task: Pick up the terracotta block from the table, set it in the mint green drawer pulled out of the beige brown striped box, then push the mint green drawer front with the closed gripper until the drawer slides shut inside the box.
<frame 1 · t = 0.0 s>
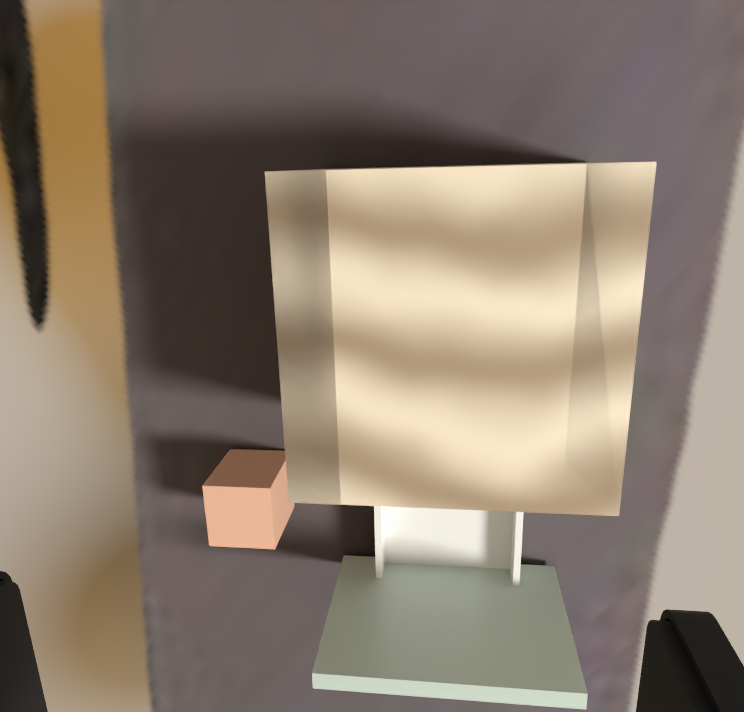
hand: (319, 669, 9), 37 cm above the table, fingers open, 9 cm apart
beige brown striped box: (450, 297, 44), on the table
block: (262, 477, 50), on the table
mint green drawer: (447, 522, 42), point 7 cm above the table, slide at 12.5 cm
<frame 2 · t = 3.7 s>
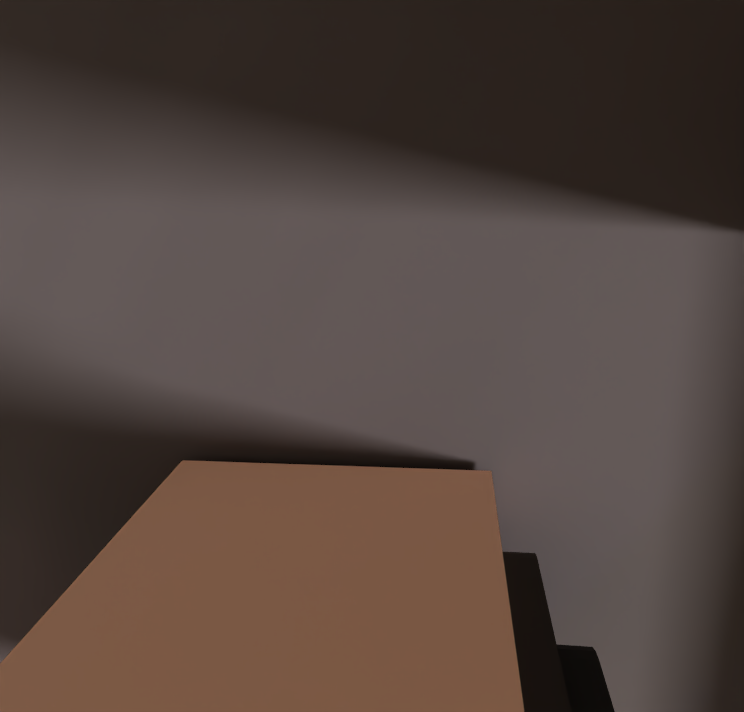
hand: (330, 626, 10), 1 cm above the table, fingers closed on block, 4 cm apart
block: (338, 596, 11), on the table, touching gripper
when the fingers open (4 cm above the table, at t = 9.5 s): block drops 2 cm, resting on mint green drawer.
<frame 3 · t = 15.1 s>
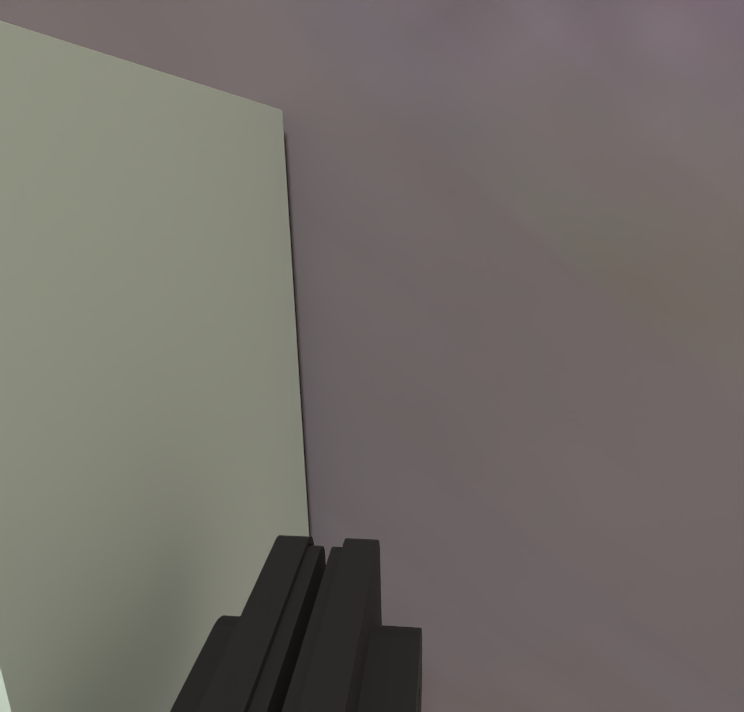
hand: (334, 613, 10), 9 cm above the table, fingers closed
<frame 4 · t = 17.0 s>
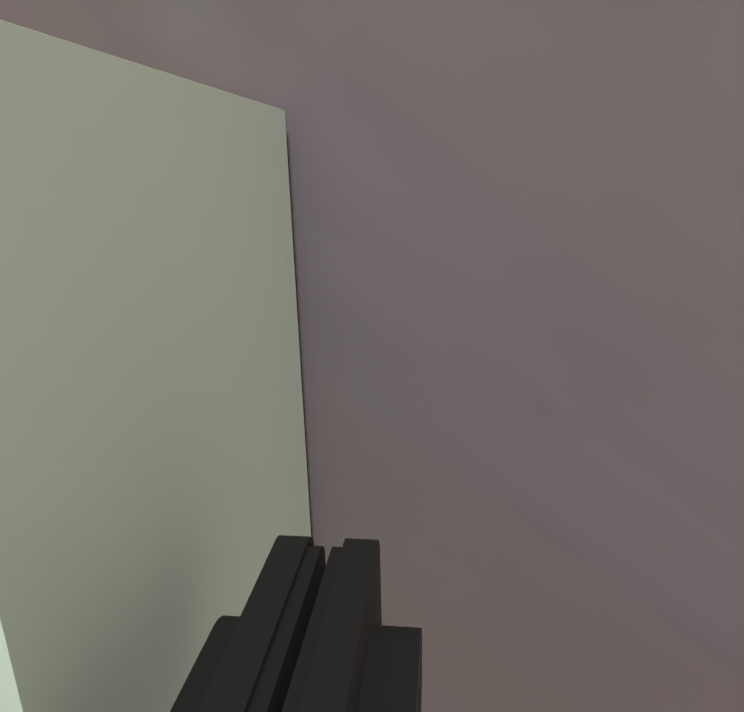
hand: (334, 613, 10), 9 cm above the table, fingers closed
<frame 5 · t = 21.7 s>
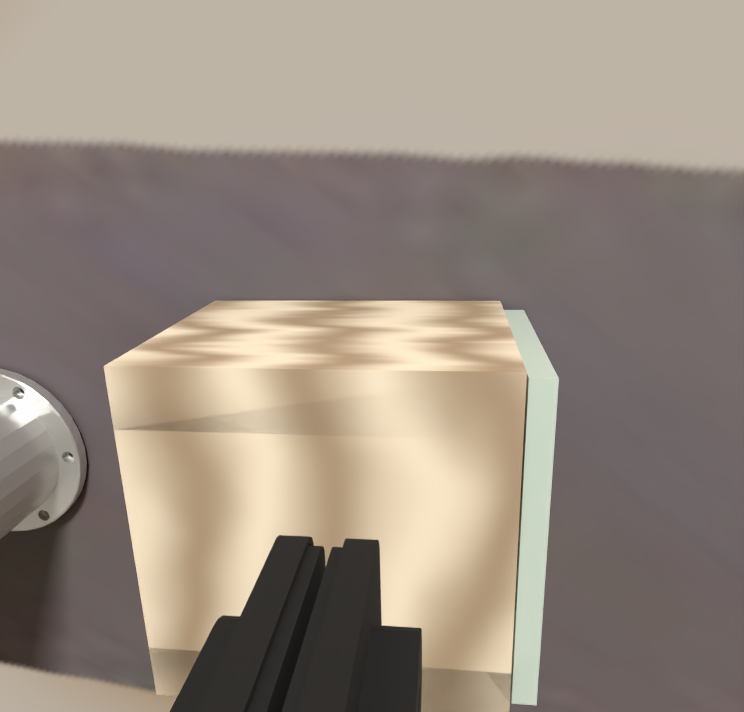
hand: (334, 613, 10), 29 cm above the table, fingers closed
beige brown striped box: (358, 433, 41), on the table
mint green drawer: (371, 481, 35), point 7 cm above the table, slide at 0.0 cm, touching block
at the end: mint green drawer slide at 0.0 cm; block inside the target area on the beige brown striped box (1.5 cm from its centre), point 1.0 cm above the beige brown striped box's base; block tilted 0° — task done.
